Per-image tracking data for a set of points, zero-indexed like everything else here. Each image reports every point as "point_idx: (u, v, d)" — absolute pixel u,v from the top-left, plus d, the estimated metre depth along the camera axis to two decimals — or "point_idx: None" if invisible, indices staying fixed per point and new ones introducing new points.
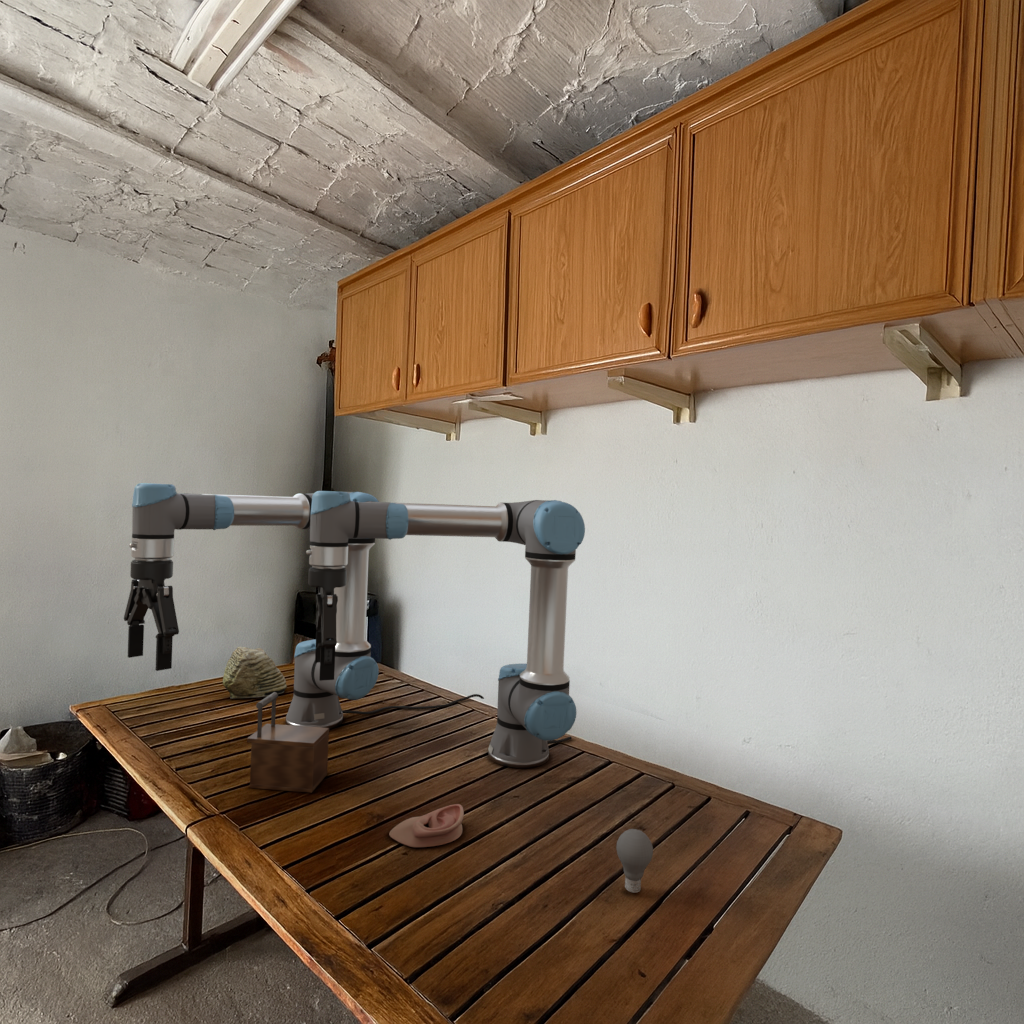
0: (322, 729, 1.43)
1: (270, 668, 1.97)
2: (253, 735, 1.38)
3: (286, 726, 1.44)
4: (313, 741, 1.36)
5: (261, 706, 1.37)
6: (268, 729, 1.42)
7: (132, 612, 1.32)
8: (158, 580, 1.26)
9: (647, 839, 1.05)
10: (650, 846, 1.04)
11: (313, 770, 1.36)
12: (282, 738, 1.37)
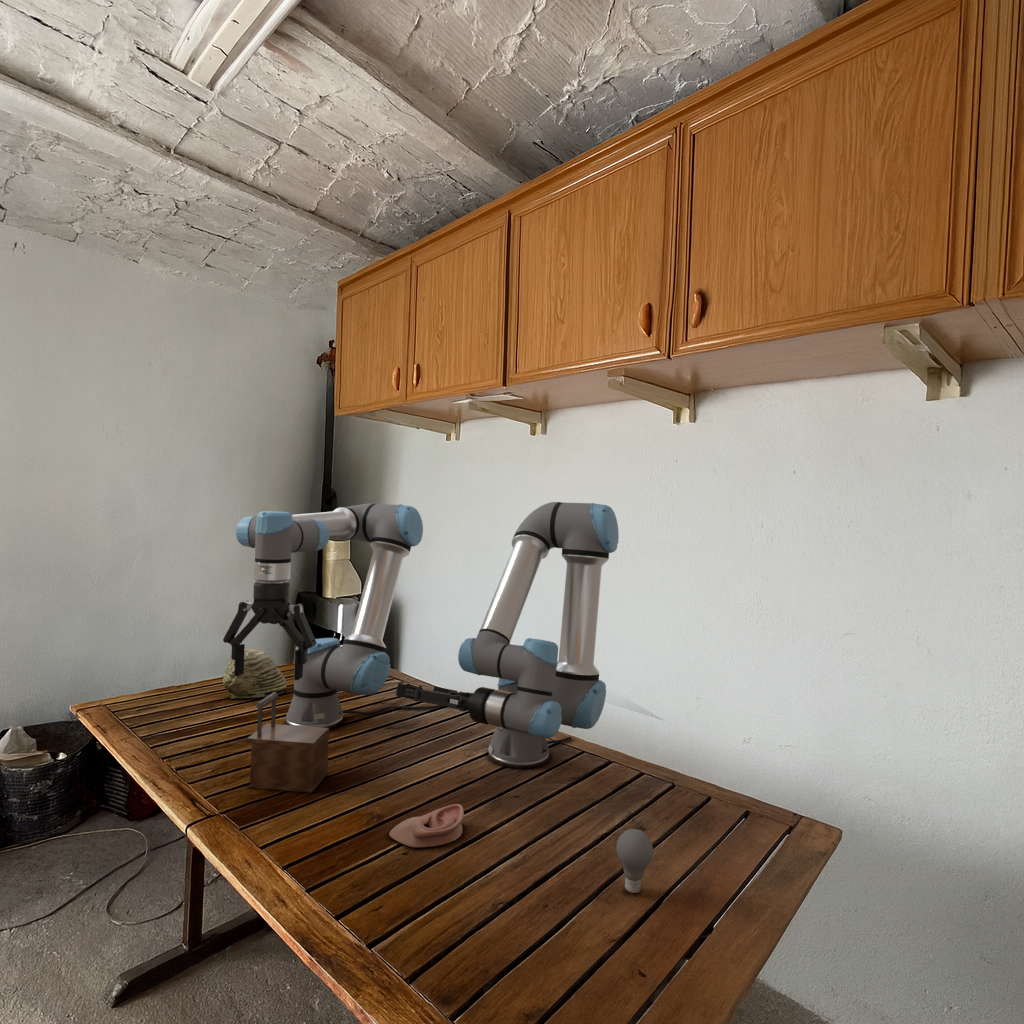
0: (322, 729, 1.43)
1: (270, 668, 1.97)
2: (253, 735, 1.38)
3: (286, 726, 1.44)
4: (313, 741, 1.36)
5: (261, 706, 1.37)
6: (268, 729, 1.42)
7: (242, 633, 1.39)
8: (287, 599, 1.39)
9: (647, 839, 1.05)
10: (650, 846, 1.04)
11: (313, 770, 1.36)
12: (282, 738, 1.37)
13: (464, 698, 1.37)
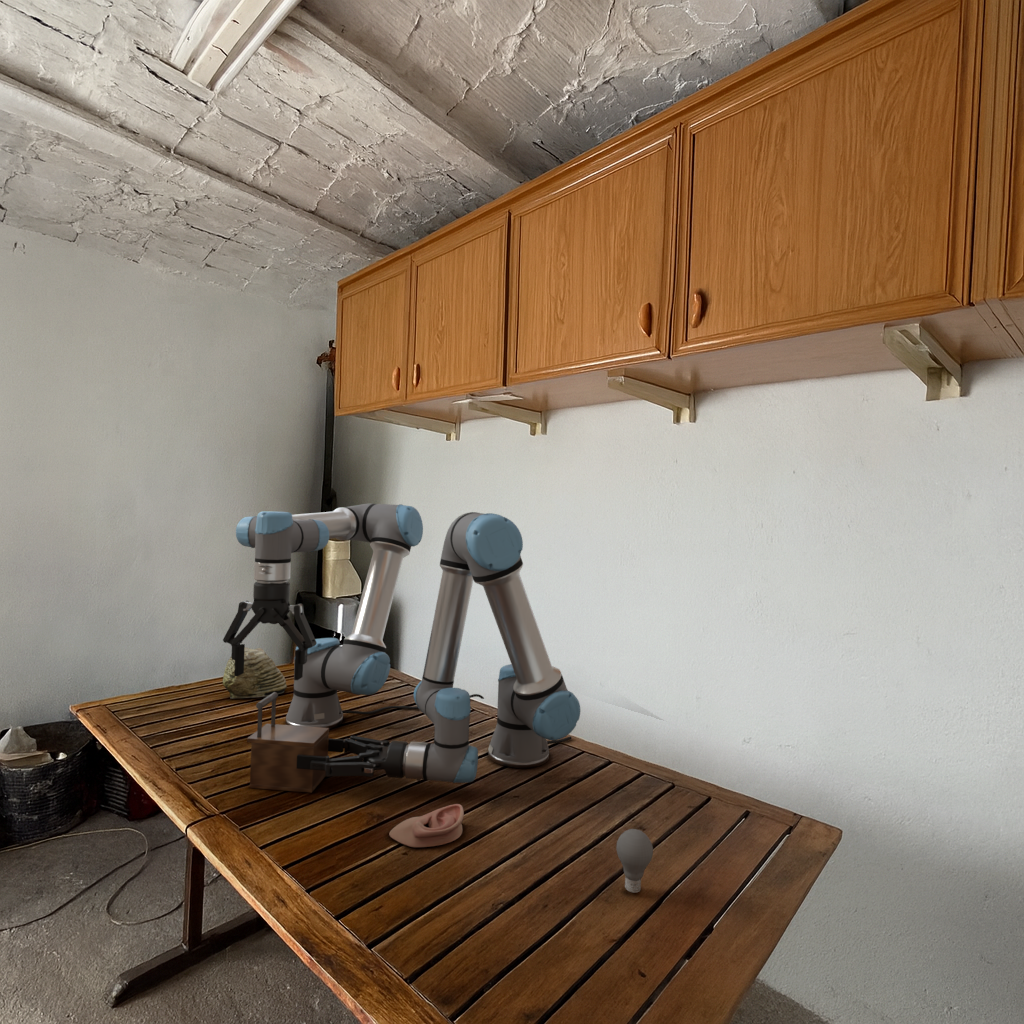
0: (322, 729, 1.43)
1: (270, 668, 1.97)
2: (253, 735, 1.38)
3: (286, 726, 1.44)
4: (313, 741, 1.36)
5: (261, 706, 1.37)
6: (268, 729, 1.42)
7: (242, 633, 1.39)
8: (287, 599, 1.39)
9: (647, 839, 1.05)
10: (650, 846, 1.04)
11: (313, 770, 1.36)
12: (282, 738, 1.37)
13: (378, 761, 1.35)
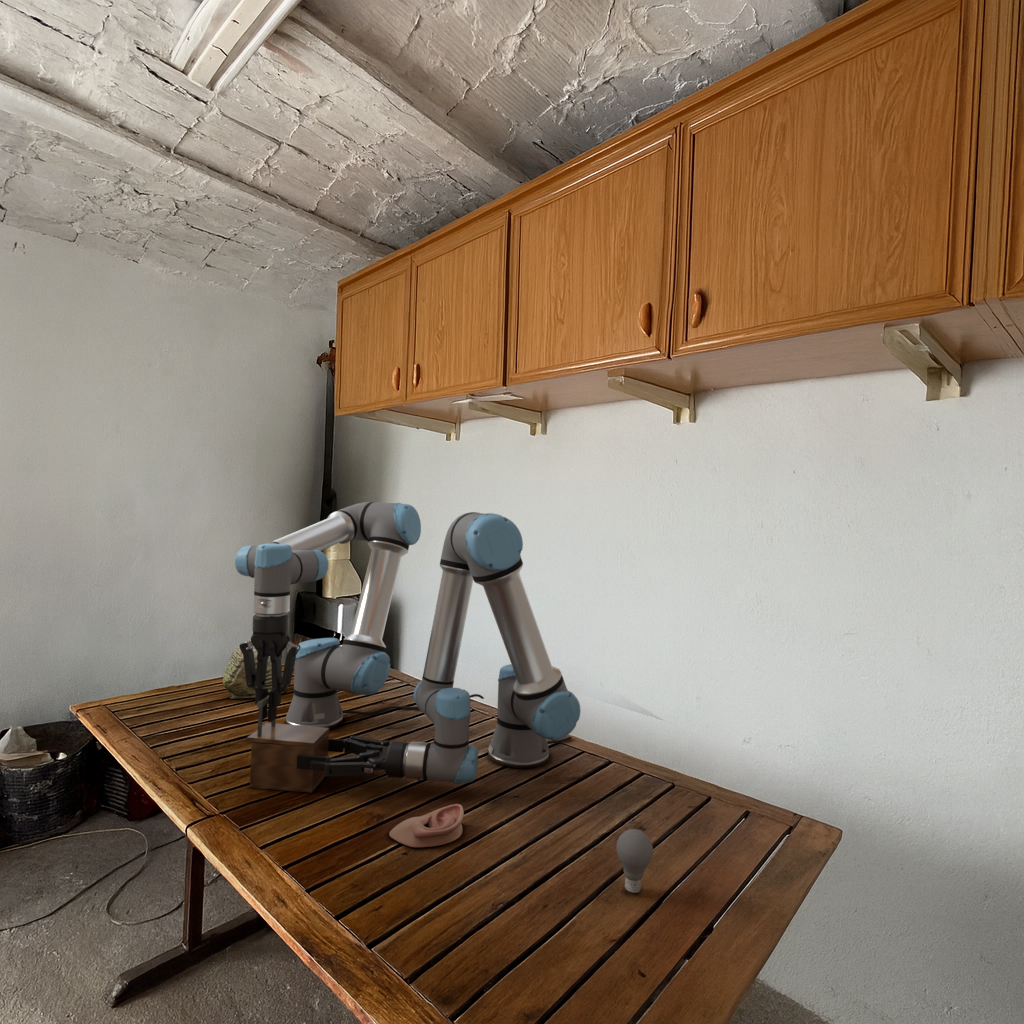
0: (322, 729, 1.43)
1: (270, 668, 1.97)
2: (253, 734, 1.38)
3: (286, 725, 1.44)
4: (313, 741, 1.36)
5: (262, 705, 1.37)
6: (268, 728, 1.42)
7: (258, 674, 1.39)
8: (286, 632, 1.40)
9: (647, 839, 1.05)
10: (650, 846, 1.04)
11: (313, 770, 1.36)
12: (282, 737, 1.37)
13: (378, 761, 1.35)
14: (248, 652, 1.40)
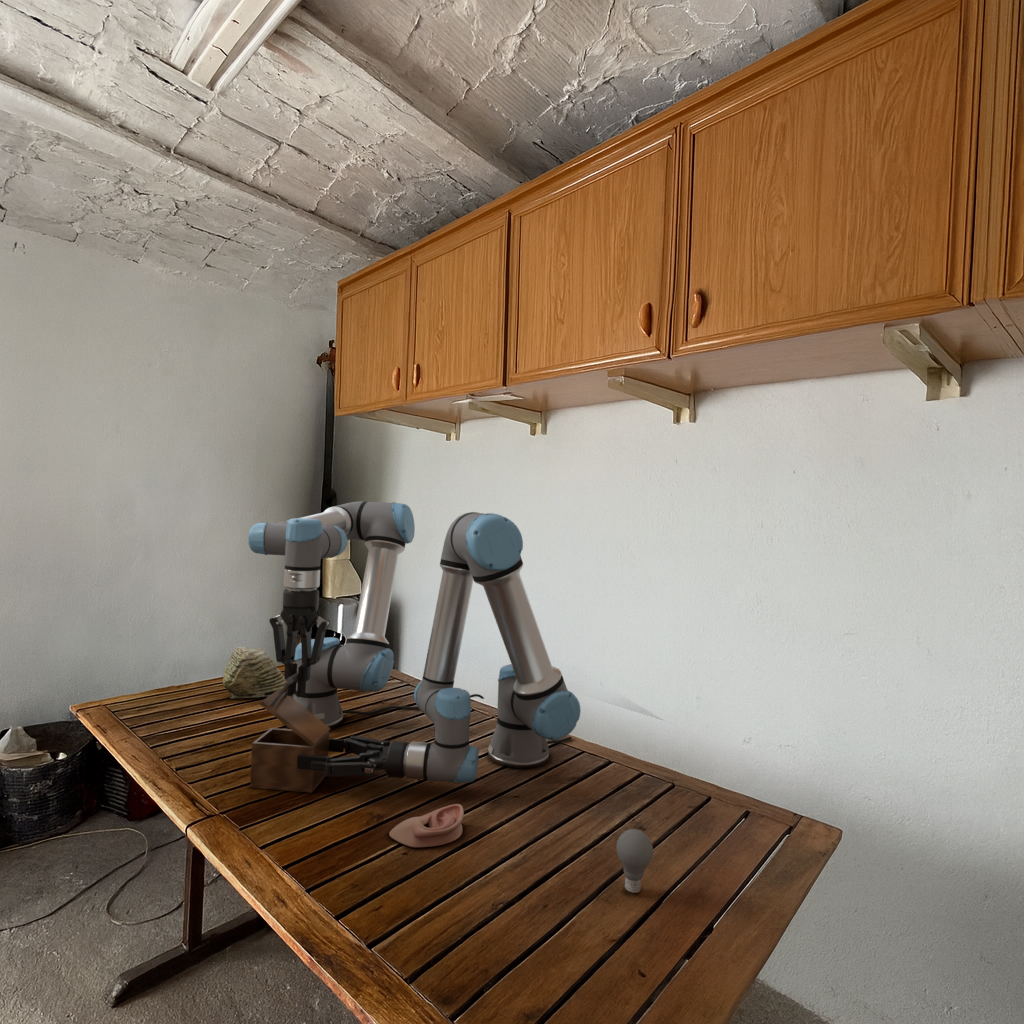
0: (325, 727, 1.43)
1: (270, 668, 1.97)
2: (267, 700, 1.38)
3: (296, 703, 1.44)
4: (315, 741, 1.36)
5: (291, 682, 1.36)
6: (281, 698, 1.42)
7: (288, 649, 1.39)
8: (316, 607, 1.39)
9: (647, 839, 1.05)
10: (650, 846, 1.04)
11: (313, 770, 1.36)
12: (290, 719, 1.37)
13: (378, 761, 1.35)
14: (278, 627, 1.39)
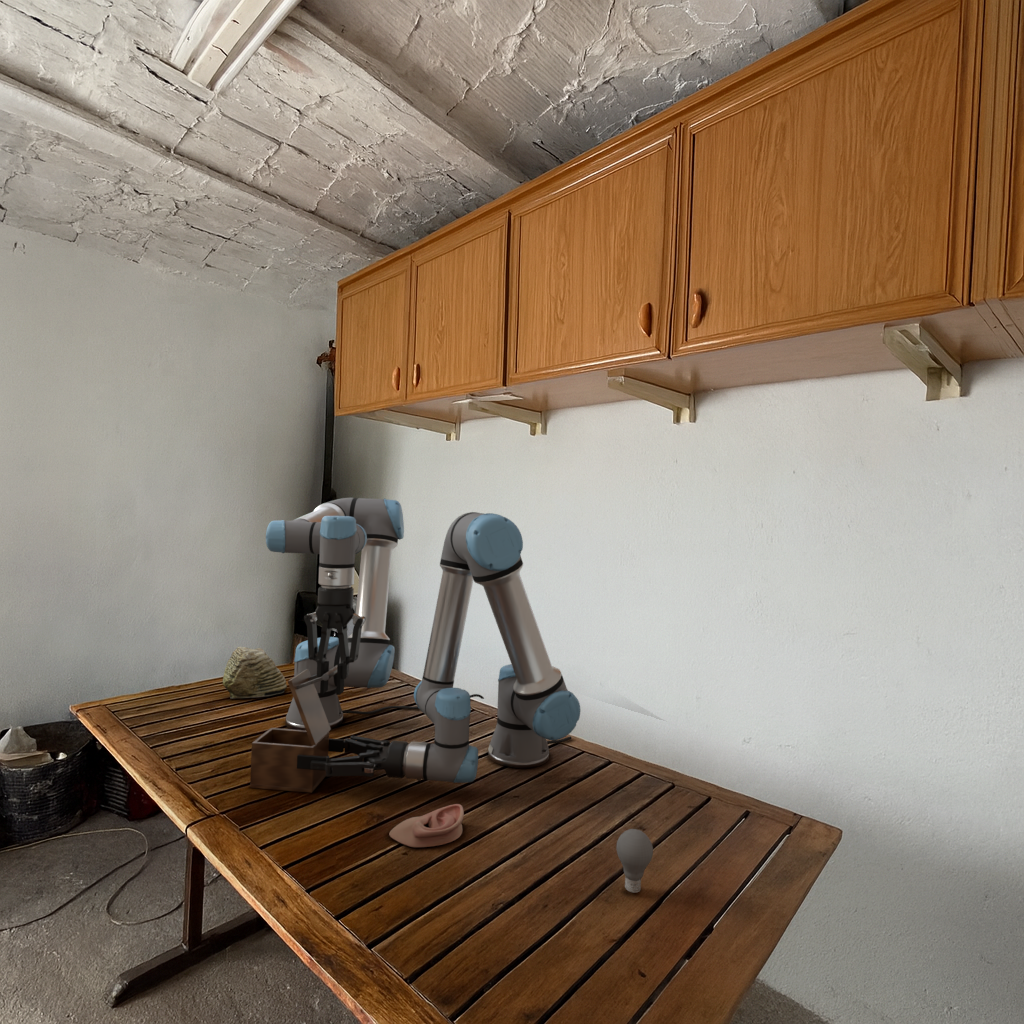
0: (327, 726, 1.43)
1: (270, 668, 1.97)
2: (295, 680, 1.37)
3: (314, 691, 1.43)
4: (316, 741, 1.36)
5: (325, 679, 1.36)
6: (305, 681, 1.41)
7: (321, 646, 1.38)
8: (351, 604, 1.38)
9: (647, 839, 1.05)
10: (650, 846, 1.04)
11: (313, 770, 1.36)
12: (305, 709, 1.37)
13: (378, 761, 1.35)
14: (312, 624, 1.39)
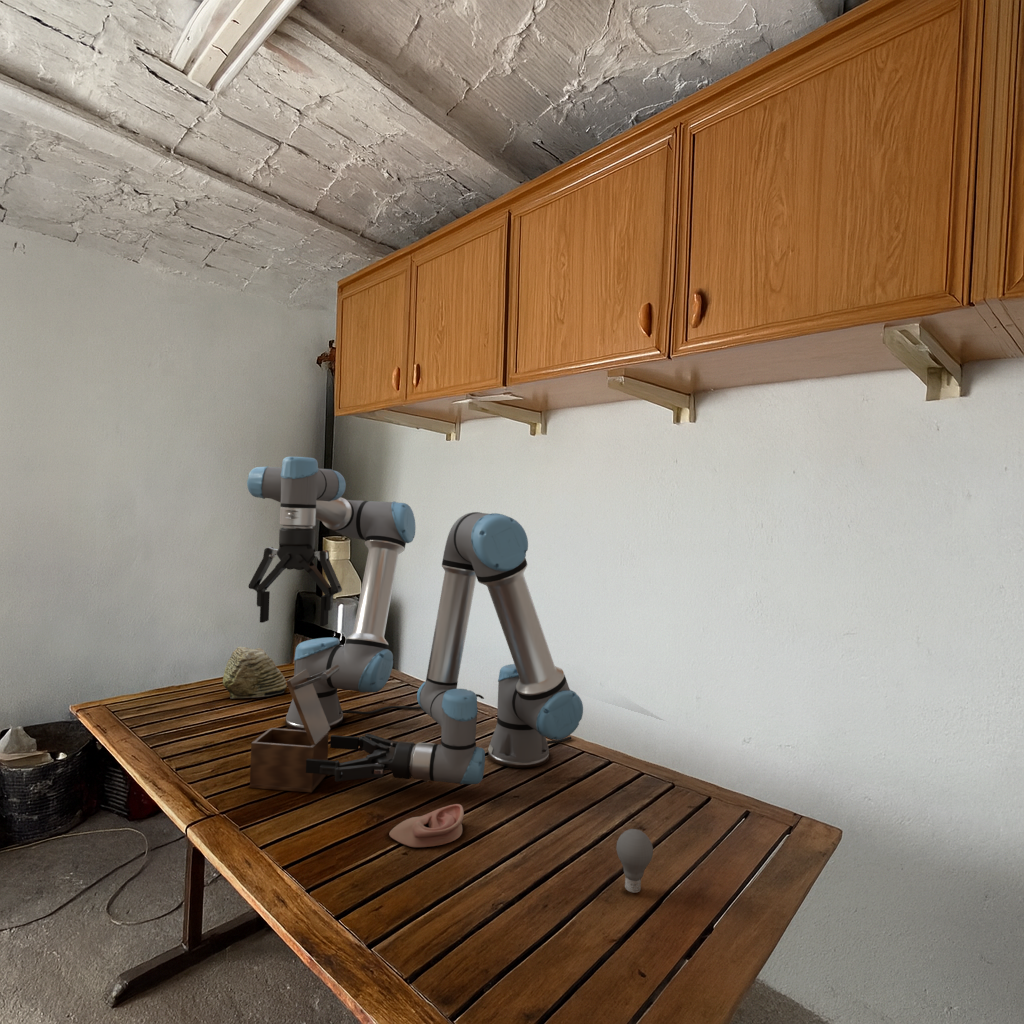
0: (327, 726, 1.43)
1: (270, 668, 1.97)
2: (294, 680, 1.37)
3: (313, 691, 1.43)
4: (316, 741, 1.36)
5: (324, 679, 1.36)
6: (304, 681, 1.41)
7: (267, 579, 1.39)
8: (312, 545, 1.39)
9: (647, 839, 1.05)
10: (650, 846, 1.04)
11: None
12: (304, 709, 1.37)
13: (386, 762, 1.35)
14: (268, 559, 1.39)
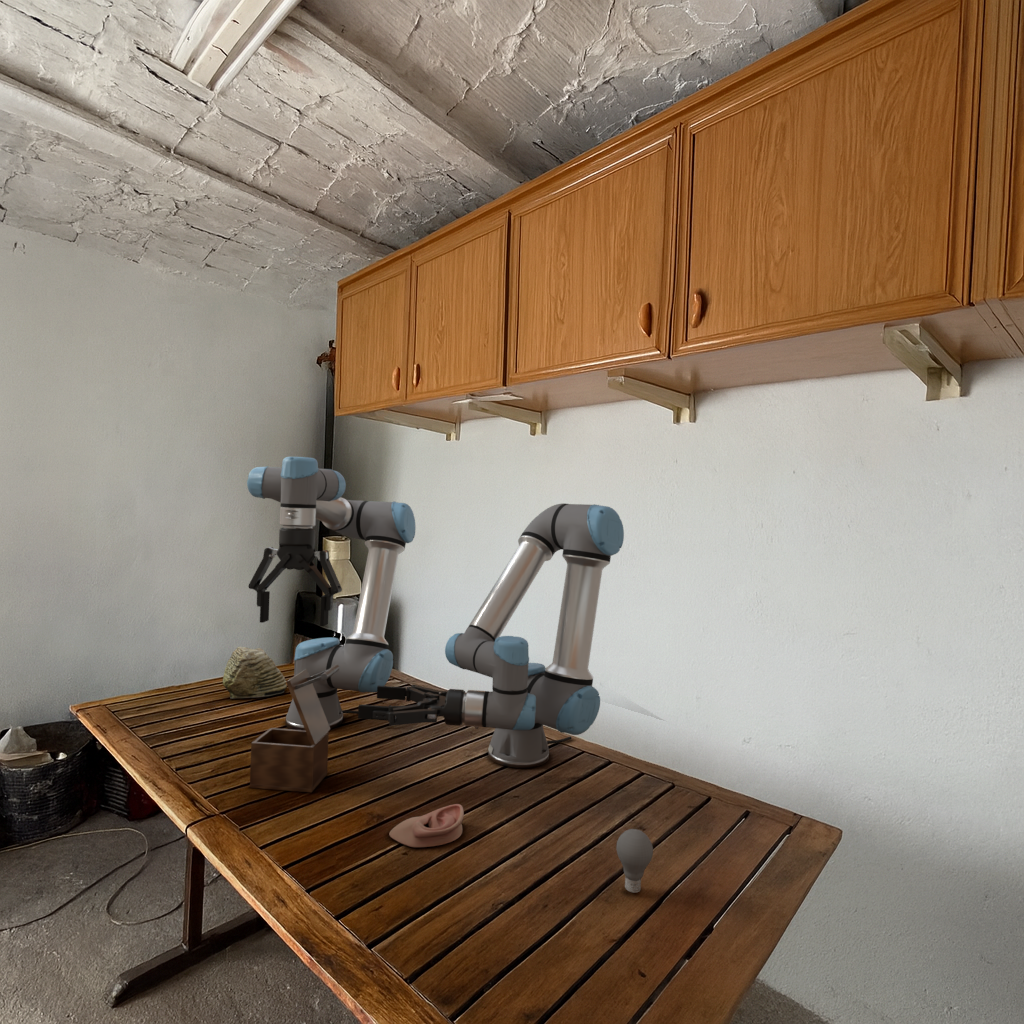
0: (327, 726, 1.43)
1: (270, 668, 1.97)
2: (294, 680, 1.37)
3: (313, 691, 1.43)
4: (316, 741, 1.36)
5: (324, 679, 1.36)
6: (304, 681, 1.41)
7: (267, 579, 1.39)
8: (312, 545, 1.39)
9: (647, 839, 1.05)
10: (650, 846, 1.04)
11: (313, 770, 1.36)
12: (304, 709, 1.37)
13: (438, 707, 1.34)
14: (268, 559, 1.39)
